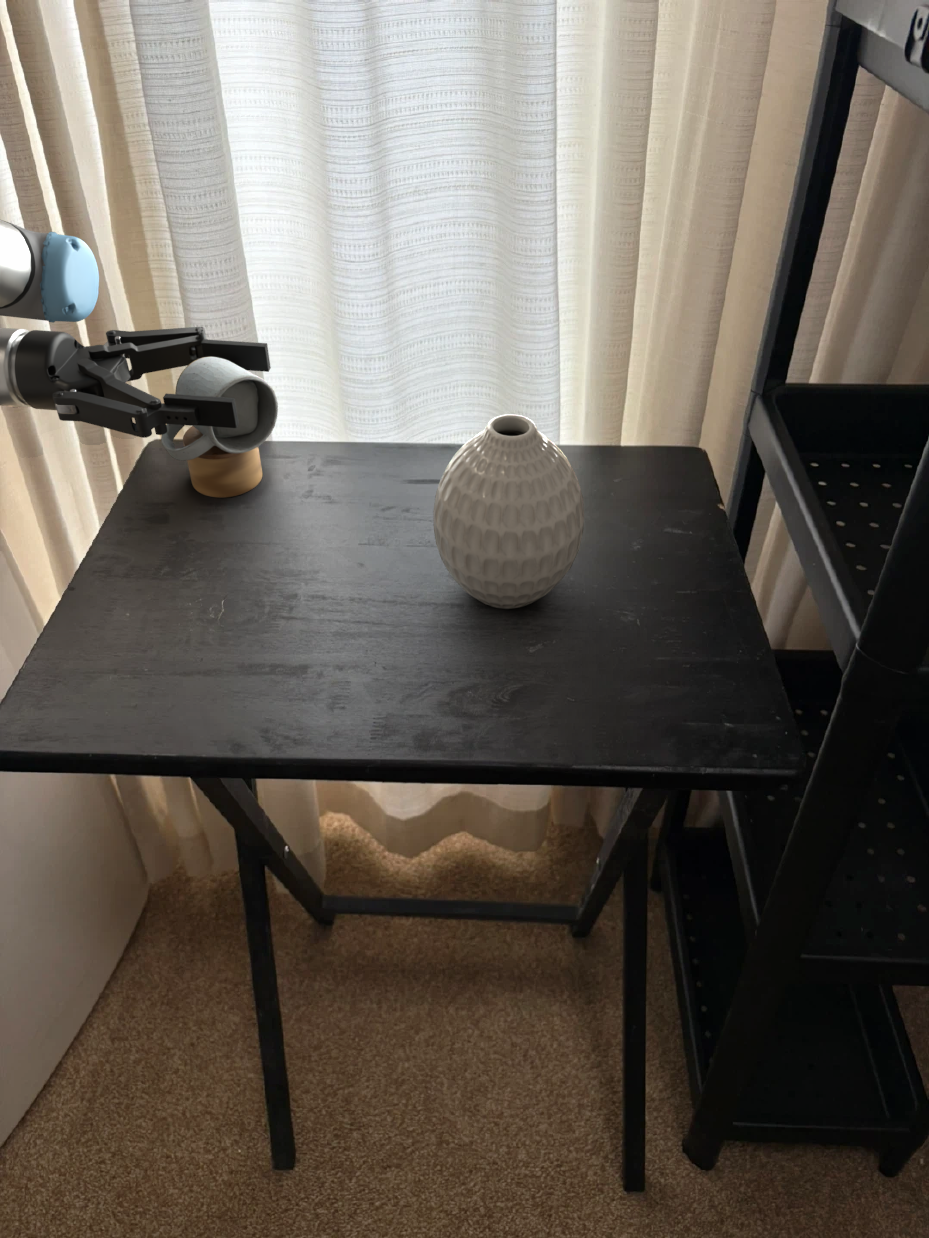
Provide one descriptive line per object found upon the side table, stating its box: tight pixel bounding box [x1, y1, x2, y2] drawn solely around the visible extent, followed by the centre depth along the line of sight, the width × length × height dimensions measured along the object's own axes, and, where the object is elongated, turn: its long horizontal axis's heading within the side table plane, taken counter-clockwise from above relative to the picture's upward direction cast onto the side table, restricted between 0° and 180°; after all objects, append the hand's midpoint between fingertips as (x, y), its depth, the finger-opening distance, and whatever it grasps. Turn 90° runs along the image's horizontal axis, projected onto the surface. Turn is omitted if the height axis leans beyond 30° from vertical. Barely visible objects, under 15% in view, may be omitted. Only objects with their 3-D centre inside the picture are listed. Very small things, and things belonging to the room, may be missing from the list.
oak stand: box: [182, 425, 263, 498], centre depth 105 cm, size 7×7×5 cm
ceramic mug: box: [160, 357, 279, 462], centre depth 100 cm, size 11×8×8 cm
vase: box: [432, 413, 585, 610], centre depth 87 cm, size 13×13×17 cm
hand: (252, 384), depth 98 cm, fingers closed on ceramic mug, 10 cm apart
